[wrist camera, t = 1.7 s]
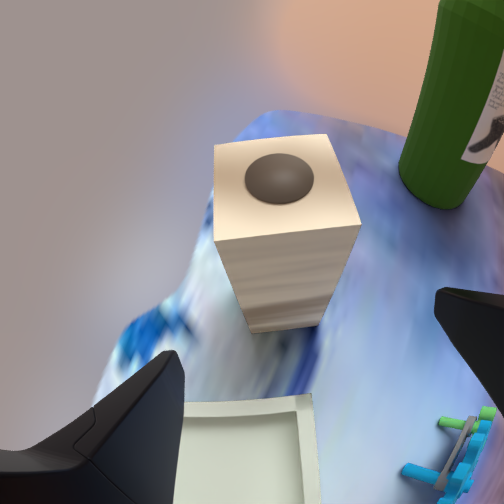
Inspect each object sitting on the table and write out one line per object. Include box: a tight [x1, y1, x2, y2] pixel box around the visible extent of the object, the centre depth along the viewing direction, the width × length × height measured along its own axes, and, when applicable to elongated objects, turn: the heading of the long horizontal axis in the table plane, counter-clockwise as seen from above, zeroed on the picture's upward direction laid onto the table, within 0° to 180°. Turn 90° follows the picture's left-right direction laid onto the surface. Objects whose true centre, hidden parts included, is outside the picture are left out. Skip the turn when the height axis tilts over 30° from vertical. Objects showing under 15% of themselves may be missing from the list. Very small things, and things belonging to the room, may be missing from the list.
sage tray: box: [173, 393, 321, 504], centre depth 14 cm, size 13×12×3 cm
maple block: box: [214, 134, 362, 333], centre depth 16 cm, size 5×5×13 cm
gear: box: [401, 406, 497, 504], centre depth 11 cm, size 11×6×10 cm
